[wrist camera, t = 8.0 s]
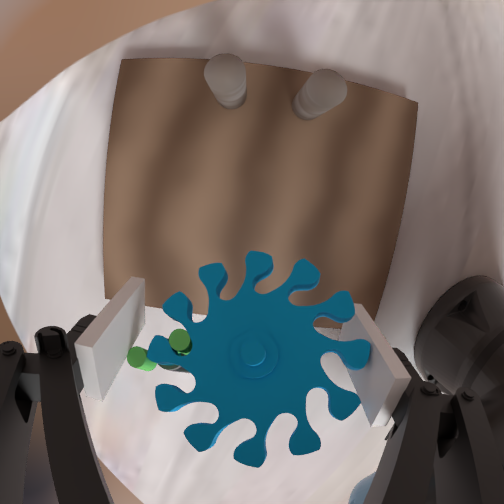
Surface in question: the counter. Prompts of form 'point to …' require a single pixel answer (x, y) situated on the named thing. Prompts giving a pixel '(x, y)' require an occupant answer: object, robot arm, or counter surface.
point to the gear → (254, 356)
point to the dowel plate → (253, 179)
